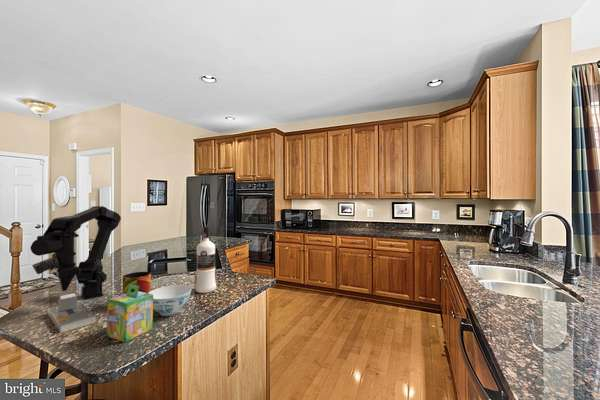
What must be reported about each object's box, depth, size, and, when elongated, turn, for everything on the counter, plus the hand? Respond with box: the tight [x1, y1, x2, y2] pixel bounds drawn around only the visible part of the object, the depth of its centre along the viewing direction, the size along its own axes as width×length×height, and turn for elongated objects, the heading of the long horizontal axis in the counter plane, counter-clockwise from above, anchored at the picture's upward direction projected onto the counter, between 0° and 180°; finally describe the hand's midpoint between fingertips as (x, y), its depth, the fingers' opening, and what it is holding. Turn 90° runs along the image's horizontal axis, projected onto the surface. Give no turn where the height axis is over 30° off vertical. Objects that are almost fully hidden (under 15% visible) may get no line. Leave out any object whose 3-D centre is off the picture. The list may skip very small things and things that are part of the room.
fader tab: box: [57, 293, 78, 311], centre depth 94 cm, size 5×3×5 cm, turn 142°
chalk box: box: [106, 285, 154, 343], centre depth 81 cm, size 9×9×15 cm
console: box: [47, 301, 97, 333], centre depth 91 cm, size 9×22×4 cm, turn 52°
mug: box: [122, 271, 152, 295], centre depth 106 cm, size 10×14×12 cm
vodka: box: [194, 226, 217, 294], centre depth 120 cm, size 9×9×30 cm
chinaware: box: [149, 284, 192, 317], centre depth 96 cm, size 15×15×8 cm
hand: (64, 290), depth 99 cm, fingers closed
